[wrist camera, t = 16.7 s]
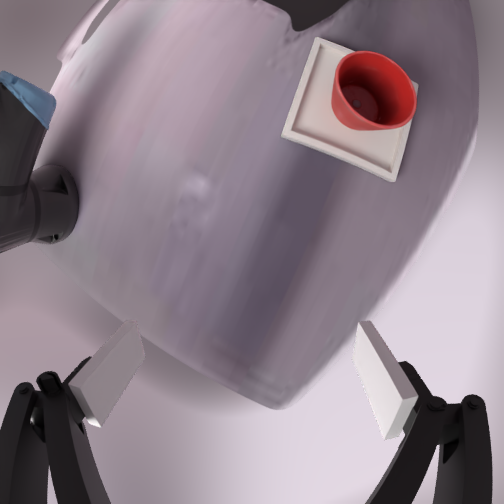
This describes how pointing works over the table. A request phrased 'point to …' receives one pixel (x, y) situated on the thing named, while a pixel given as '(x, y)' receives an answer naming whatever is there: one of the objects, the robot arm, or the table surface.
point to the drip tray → (330, 128)
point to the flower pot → (372, 93)
